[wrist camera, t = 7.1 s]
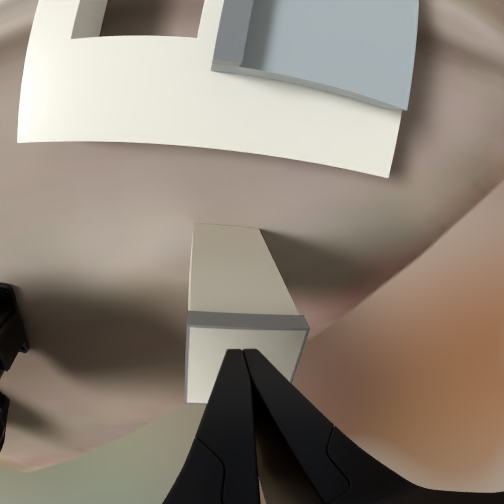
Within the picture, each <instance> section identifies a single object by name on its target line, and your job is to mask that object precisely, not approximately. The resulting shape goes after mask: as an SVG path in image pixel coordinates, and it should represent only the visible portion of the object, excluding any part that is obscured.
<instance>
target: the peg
mask: <svg viewBox="0 0 504 504" xmlns="http://www.w3.org/2000/svg"><path fill="white" fill-rule="evenodd" d="M309 329H310V327H309V325H308V323H307V321H306V319H305V317H304V315H299V313H298V311H297V309H296V307H295V305H294V302H293V300H292V298H291V296H290V294H289V292H288V290H287V288H286V285H285V283H284V281H283V279H282V277H281V275H280V273H279V271H278V268H277V266H276V264H275V262H274V260H273V258H272V256H271V254H270V252H269V250H268V247H267V245H266V243H265V241H264V239H263V237H262V235H261V233H260V231H259V229H257V228H246V227H235V226H224V225H213V224H201V223H194V226H193V237H192V248H191V261H190V274H189V294H188V310H187V330H186V355H185V404H206V405H207V403H208V400H209V397H210V394H211V392H212V389H213V386H214V383H215V381H216V378H217V375H218V372H219V369H220V367H221V364H222V361H223V358H224V355H225V353H226V350H227V349H241V350H243V349H247V348H256V349H258V350H259V351H260V352H261V353H262V354H263V355H264V356H265V357H266V358H267V359H268V360H269V361H270V362H271V363H272V364H273V365H274V366H275V367H276V369H277V370H278V371H279V372H280V373H281V374H282V375H283V376H284V377H285V378H286V379H287V380H288V381H289V382H290V383H292V380H293V377H294V374H295V372H296V369H297V366H298V363H299V360H300V357H301V354H302V351H303V348H304V345H305V342H306V339H307V336H308V333H309Z"/></svg>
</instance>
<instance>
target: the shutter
mask: <svg viewBox="0 0 504 504" xmlns="http://www.w3.org/2000/svg"><path fill="white" fill-rule="evenodd" d="M418 10H419V0H224V3H223V7H222V12H221V17H220V22H219V27H218V33H217V38H216V43H215V49H214V54H213V60H212V66H211V71H219V72H227V73H234V74H241V75H248V76H254V77H260V78H266V79H271V80H277V81H282V82H287V83H291V84H296V85H301V86H305V87H309V88H314V89H318V90H322V91H326V92H330V93H333V94H337V95H341V96H344V97H348V98H351V99H355V100H358V101H361V102H365V103H368V104H371V105H374V106H377V107H380V108H383V109H393V110H406V111H407V108H408V102H409V95H410V89H411V82H412V74H413V66H414V58H415V48H416V38H417V26H418Z"/></svg>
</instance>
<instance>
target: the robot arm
mask: <svg viewBox="0 0 504 504" xmlns="http://www.w3.org/2000/svg"><path fill="white" fill-rule="evenodd" d="M7 291H8V292H7ZM28 350H29V345H28V342H27V339H26V335H25V332H24V328H23V325H22V321H21V318H20V314H19V311H18V307H17V303H16V299H15V295H14V291H13V289H12V288H11V287H10V286H9V285H5V284H0V378H1V376H2V374H3V373H4V371H8V370H9V369H10V367H11V365H12V363H13V361H14V359H15V358H16V356H17V354H18V352H22V353H27V352H28ZM9 402H10V400H9V398H8V397H7V396H6V395H3V394H2V393H1V391H0V451H1V449H2V447H3V444H4V439H5V431H6V422H7V415H8V408H9ZM333 426H334V425H333V423H331V422H330V421H329V420H328V419H327V418H326V417H325V416H324V415H323V414H322V413H321V412H320V411H319V410H318V409H317V408H316V407H315V406H314V405H313V404H312V403H311V402H309V400H307V399H306V398H305V397H304V396H303V395H302V394H301V393H300V392H299V391H298V390H297V389H296V388H295V387H294V386H293V385H292V384H291V383H290V382H289V381H288V380H287V379H286V378H285V377H284V376H283V375H282V374H281V373H280V372H279V371H278V370H277V369H276V367H275V366H274V365H273V364H272V363H271V362H270V361H269V360H268V359H267V358H266V357H265V356H264V355H263V354H262V353H261V352H260V351H259V350H258V349H256V348H247V349H243V350H241V349H227V350H226V353H225V355H224V358H223V361H222V364H221V367H220V369H219V372H218V375H217V378H216V381H215V383H214V386H213V389H212V392H211V394H210V397H209V400H208V403H207V405H206V408H205V411H204V414H203V417H202V419H201V422H200V425H199V428H198V430H197V433H196V436H195V439H194V441H193V443H192V446H191V449H190V452H189V454H188V456H187V459H186V461H185V464H184V466H183V468H182V470H181V472H180V474H179V475H178V477H177V479H176V481H175V483H174V485H173V486H172V488H171V490H170V492H169V493H168V495H167V497H166V498H165V500H164V502H163V503H162V504H261V503H260V492H259V491H260V490H259V480H260V483H261V487H262V491H263V494H264V498H265V501H266V504H504V491H503V492H496V493H473V492H455V491H442V490H432V489H427V488H423V487H420V486H417V485H415V484H413V483H411V482H409V481H408V480H406V479H404V478H403V477H401V476H400V475H398V474H397V473H395V472H394V471H392V470H391V469H389V468H388V467H386V466H385V465H383V464H382V463H380V462H379V461H378V460H376V459H375V458H373V457H372V456H370V455H369V454H368V453H366V452H365V451H364V450H362V449H361V448H360V447H358V446H357V445H356V444H355V443H354V442H353V441H351V440H350V439H349V438H348V437H347V436H346V435H344V434H343V433H342V432H341V431H340V430H339V429H338V428H337V427H336V426H334V427H333ZM258 477H259V478H258Z"/></svg>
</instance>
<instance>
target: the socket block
mask: <svg viewBox="0 0 504 504" xmlns="http://www.w3.org/2000/svg"><path fill="white" fill-rule="evenodd" d="M107 2H108V0H39V3H38V6H37V10H36V13H35V17H34V21H33V25H32V30H31V34H30V39H29V43H28V48H27V54H26V59H25V65H24V72H23V79H22V87H21V95H20V106H19V118H18V138H17V143H24V142H51V141H106V142H135V143H153V144H168V145H181V146H193V147H204V148H213V149H223V150H231V151H240V152H247V153H255V154H262V155H269V156H276V157H282V158H289V159H295V160H301V161H307V162H312V163H318V164H323V165H329V166H334V167H339V168H344V169H349V170H354V171H358V172H363V173H368V174H372V175H377V176H381V177H385V178H388V177H389V173H390V169H391V164H392V160H393V155H394V150H395V146H396V141H397V136H398V131H399V125H400V120H401V114H402V110H393V109H383V108H380V107H377V106H374V105H371V104H368V103H365V102H361V101H358V100H355V99H351V98H348V97H344V96H341V95H337V94H333V93H330V92H326V91H322V90H318V89H314V88H309V87H305V86H301V85H296V84H291V83H287V82H282V81H277V80H271V79H266V78H260V77H254V76H248V75H241V74H234V73H227V72H219V71H211V66H212V60H213V54H214V49H215V43H216V38H217V33H218V27H219V22H220V17H221V12H222V7H223V3H224V0H205V2H204V7H203V11H202V16H201V21H200V26H199V31H198V36H197V38H188V37H173V36H105V37H99V36H100V31H101V27H102V22H103V18H104V14H105V10H106V6H107Z"/></svg>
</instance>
